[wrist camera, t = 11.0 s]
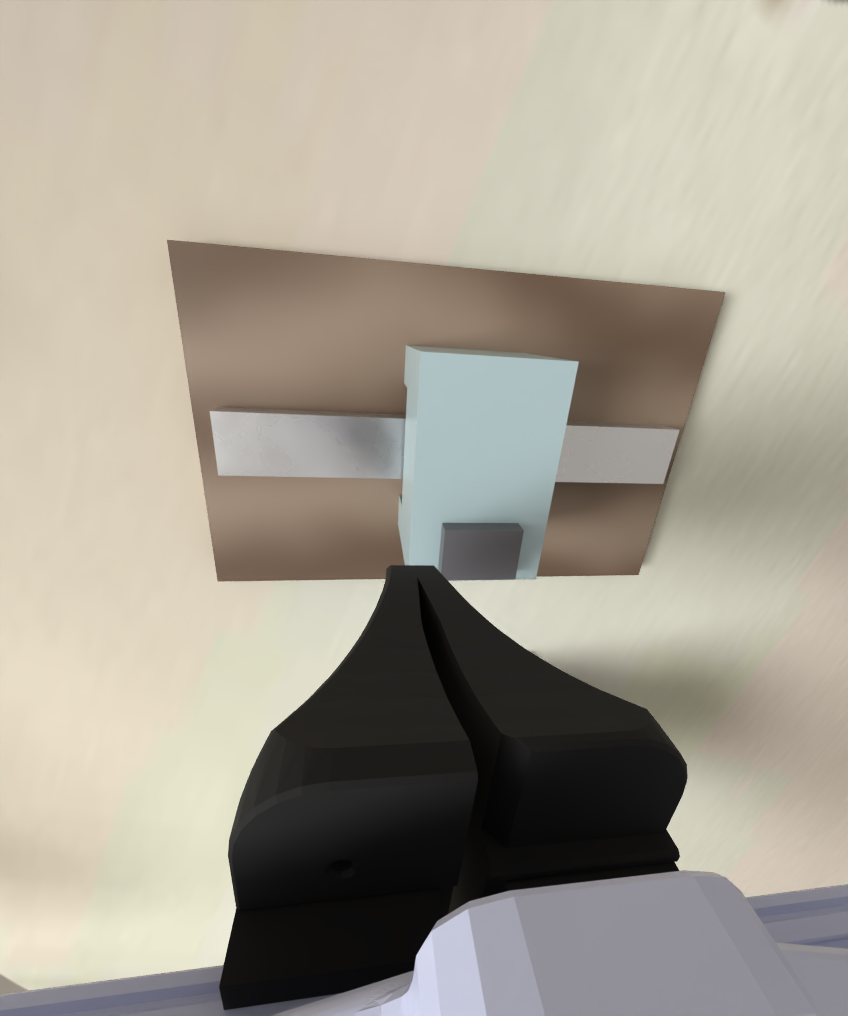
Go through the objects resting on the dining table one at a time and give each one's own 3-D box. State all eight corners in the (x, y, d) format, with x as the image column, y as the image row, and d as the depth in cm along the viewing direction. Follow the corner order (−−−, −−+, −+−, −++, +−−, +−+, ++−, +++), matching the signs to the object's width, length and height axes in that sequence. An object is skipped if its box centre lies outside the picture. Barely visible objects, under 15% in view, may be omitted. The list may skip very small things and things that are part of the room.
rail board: (627, 565, 24) (649, 584, 22) (224, 570, 21) (210, 593, 19) (707, 293, 19) (744, 290, 17) (178, 244, 16) (153, 234, 14)
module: (498, 523, 21) (541, 587, 16) (397, 523, 20) (409, 590, 15) (523, 352, 18) (588, 362, 13) (405, 345, 17) (423, 352, 12)
